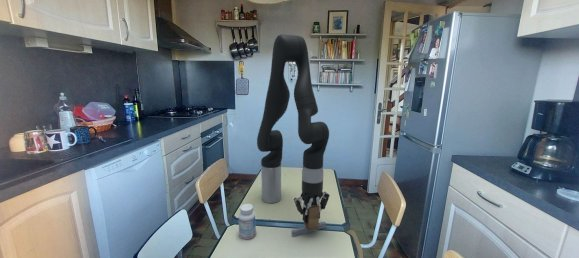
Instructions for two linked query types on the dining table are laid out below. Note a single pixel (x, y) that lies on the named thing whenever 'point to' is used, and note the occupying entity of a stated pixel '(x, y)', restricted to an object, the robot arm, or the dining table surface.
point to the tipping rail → (305, 230)
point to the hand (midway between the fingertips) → (311, 220)
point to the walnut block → (313, 218)
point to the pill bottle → (247, 222)
